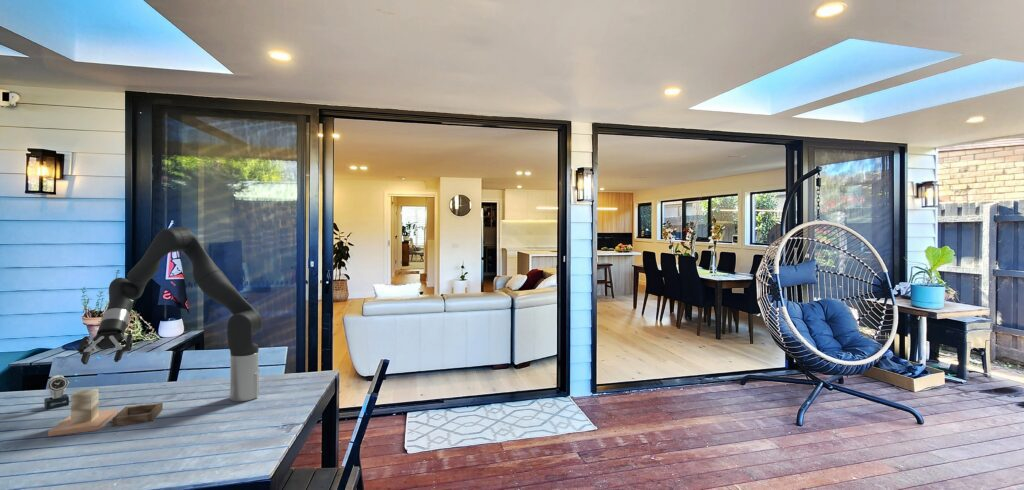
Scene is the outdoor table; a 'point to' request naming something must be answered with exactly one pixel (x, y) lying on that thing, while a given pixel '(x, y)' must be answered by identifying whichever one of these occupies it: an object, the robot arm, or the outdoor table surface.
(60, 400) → the watch
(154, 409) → the walnut pocket frame
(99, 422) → the terracotta tile
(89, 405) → the ash block
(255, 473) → the outdoor table surface
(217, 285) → the robot arm
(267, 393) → the outdoor table surface
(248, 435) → the outdoor table surface
